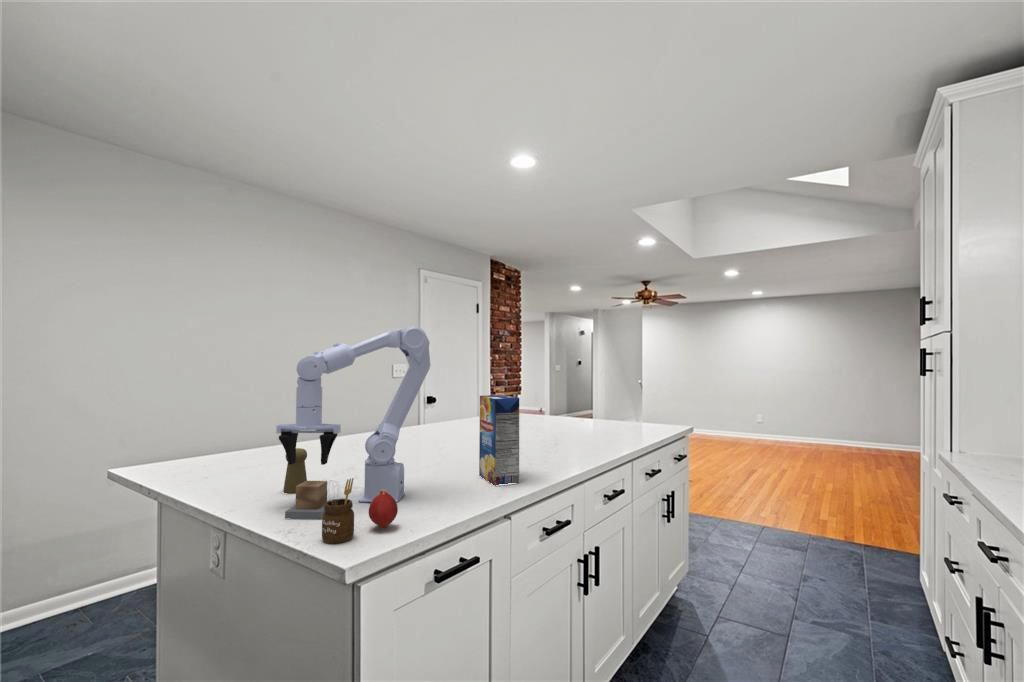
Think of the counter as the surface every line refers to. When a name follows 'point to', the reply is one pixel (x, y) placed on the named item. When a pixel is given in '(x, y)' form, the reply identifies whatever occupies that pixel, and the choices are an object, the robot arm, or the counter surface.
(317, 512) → the slate base
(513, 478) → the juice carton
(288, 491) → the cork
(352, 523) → the utensil holder
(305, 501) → the walnut cube
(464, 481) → the counter surface
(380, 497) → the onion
